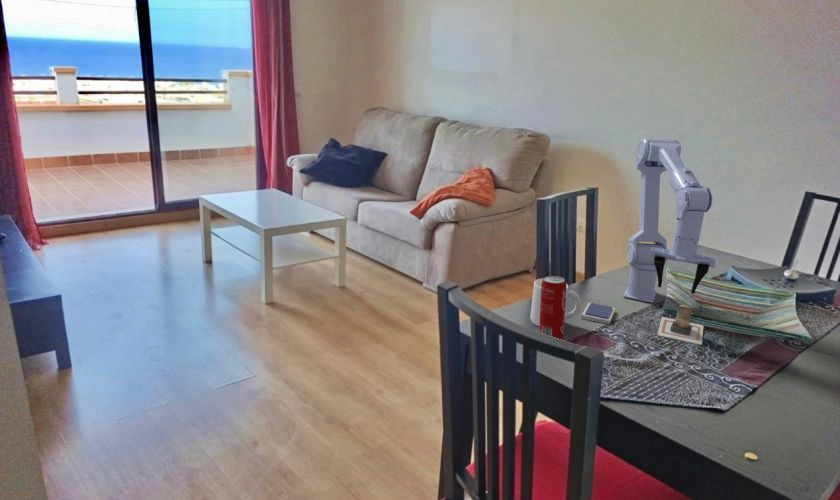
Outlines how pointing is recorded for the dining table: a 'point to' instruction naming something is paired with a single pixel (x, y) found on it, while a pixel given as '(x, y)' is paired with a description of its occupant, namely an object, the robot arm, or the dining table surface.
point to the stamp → (682, 320)
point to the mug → (537, 297)
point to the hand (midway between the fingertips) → (676, 289)
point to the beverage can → (552, 306)
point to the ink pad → (598, 313)
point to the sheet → (693, 338)
